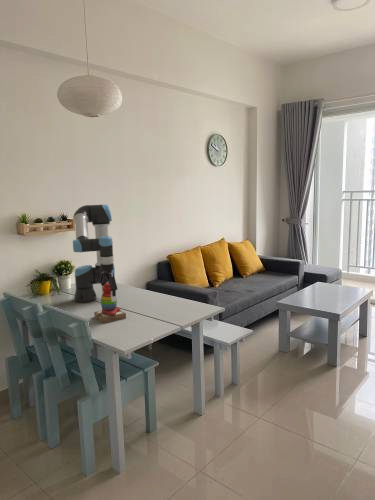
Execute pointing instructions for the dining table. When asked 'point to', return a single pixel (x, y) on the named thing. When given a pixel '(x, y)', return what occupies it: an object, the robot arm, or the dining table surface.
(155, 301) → the dining table surface
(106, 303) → the stacking bear
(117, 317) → the picture frame
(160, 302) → the dining table surface
